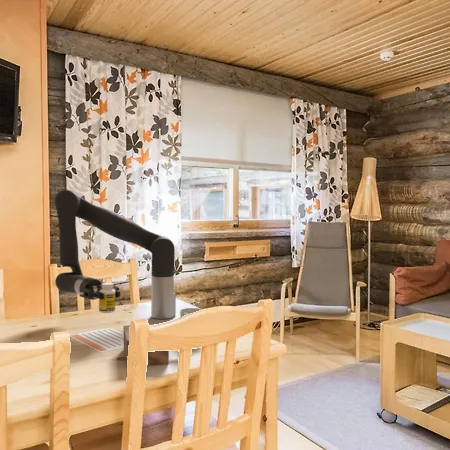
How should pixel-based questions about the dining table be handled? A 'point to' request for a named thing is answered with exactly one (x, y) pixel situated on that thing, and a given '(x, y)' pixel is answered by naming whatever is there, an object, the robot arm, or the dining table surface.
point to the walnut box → (153, 357)
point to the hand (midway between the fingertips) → (111, 295)
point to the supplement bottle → (107, 298)
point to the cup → (188, 311)
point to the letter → (101, 339)
